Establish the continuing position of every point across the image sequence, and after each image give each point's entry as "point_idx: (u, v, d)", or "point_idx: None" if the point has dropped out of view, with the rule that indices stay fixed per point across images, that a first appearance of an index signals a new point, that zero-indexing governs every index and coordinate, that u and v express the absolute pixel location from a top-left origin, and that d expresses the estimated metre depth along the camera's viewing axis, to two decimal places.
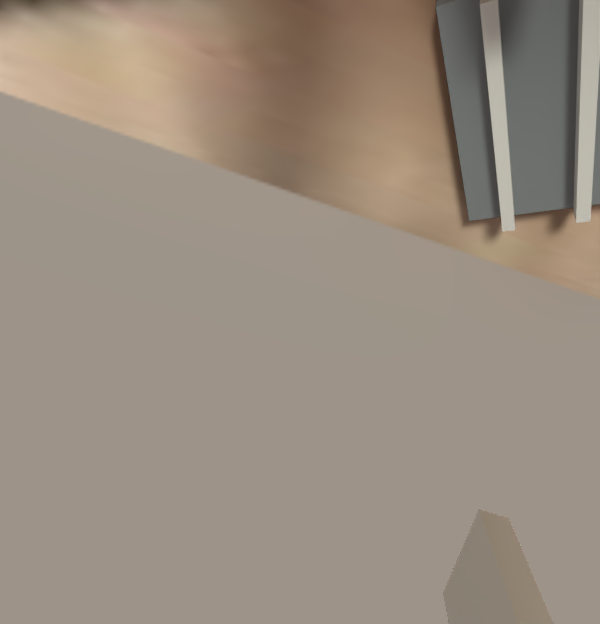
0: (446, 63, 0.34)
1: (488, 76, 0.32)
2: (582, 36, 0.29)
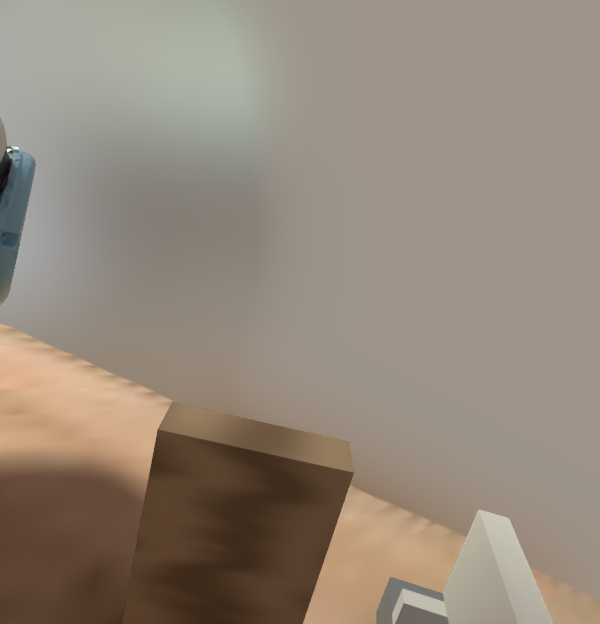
0: None
1: None
2: None
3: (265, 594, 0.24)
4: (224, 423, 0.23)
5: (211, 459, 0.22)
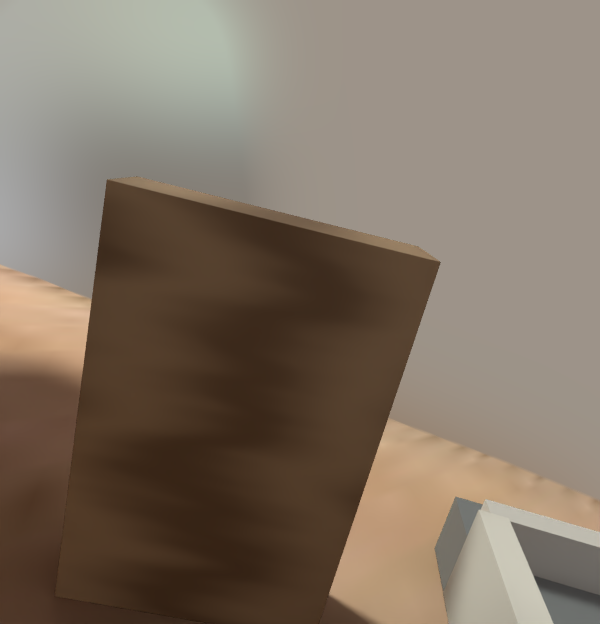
0: None
1: None
2: (583, 544, 0.18)
3: (289, 489, 0.15)
4: (221, 200, 0.14)
5: (200, 238, 0.13)
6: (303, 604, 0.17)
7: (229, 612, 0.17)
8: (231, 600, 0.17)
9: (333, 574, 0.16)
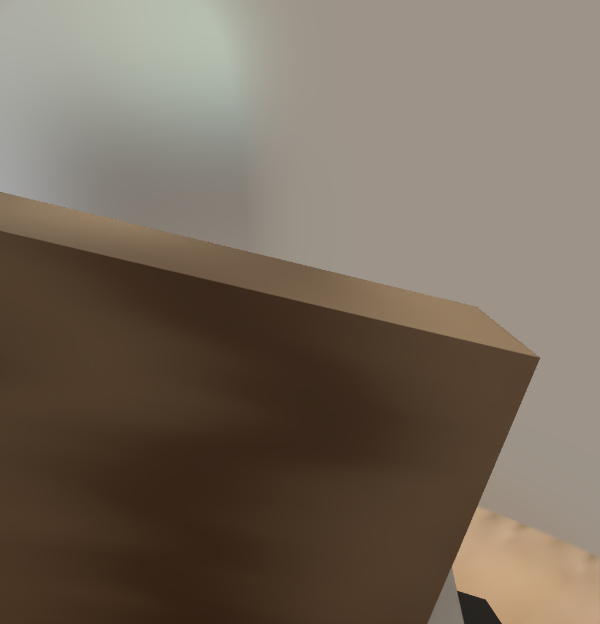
0: None
1: None
2: None
3: None
4: (135, 235, 0.08)
5: (76, 314, 0.07)
6: None
7: None
8: None
9: None
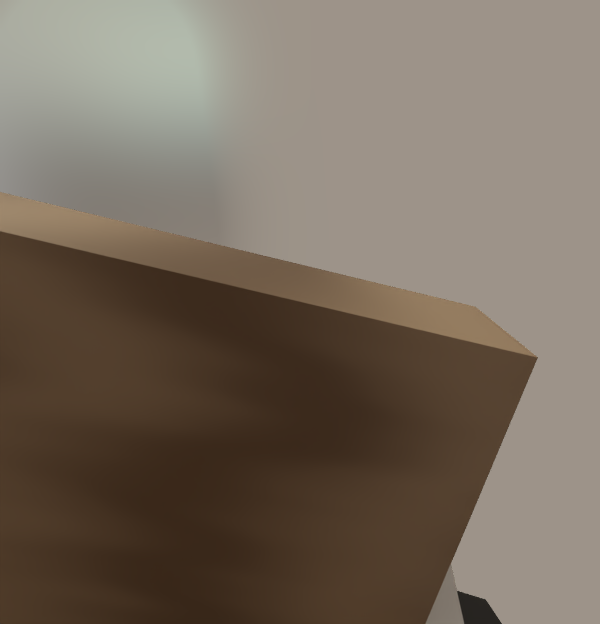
0: None
1: None
2: None
3: None
4: (132, 234, 0.08)
5: (71, 314, 0.07)
6: None
7: None
8: None
9: None
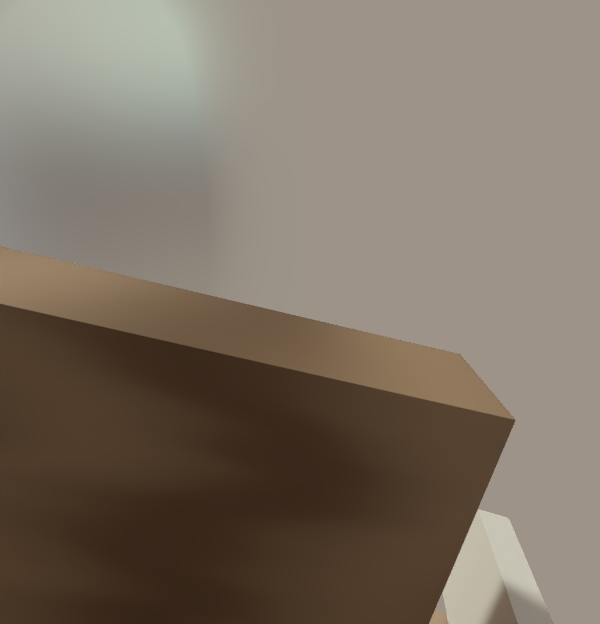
0: None
1: None
2: None
3: None
4: (123, 290, 0.08)
5: (61, 378, 0.07)
6: None
7: None
8: None
9: None
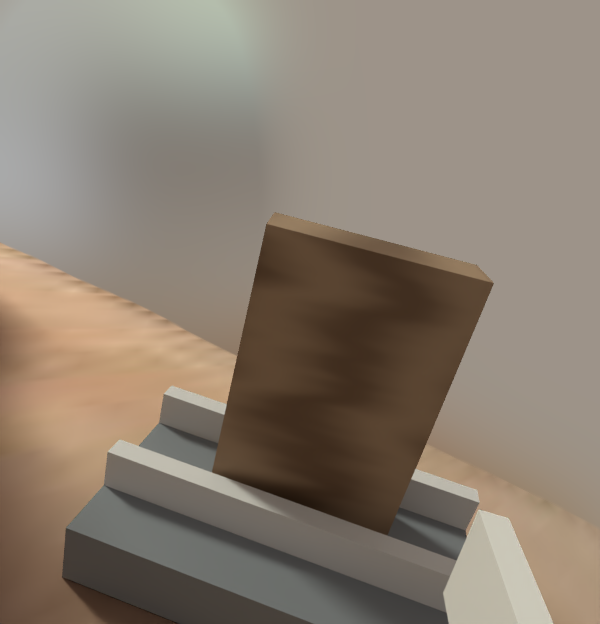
0: (148, 556, 0.20)
1: (199, 483, 0.22)
2: (221, 415, 0.27)
3: (374, 435, 0.22)
4: (336, 232, 0.20)
5: (326, 263, 0.19)
6: (378, 518, 0.23)
7: None
8: (327, 511, 0.23)
9: (401, 497, 0.23)
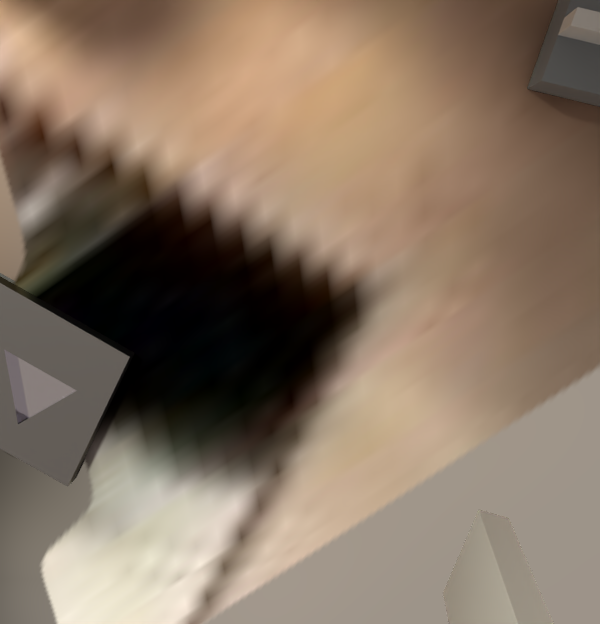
0: (599, 92, 0.32)
1: None
2: None
3: None
4: None
5: None
6: None
7: None
8: None
9: None
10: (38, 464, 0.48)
